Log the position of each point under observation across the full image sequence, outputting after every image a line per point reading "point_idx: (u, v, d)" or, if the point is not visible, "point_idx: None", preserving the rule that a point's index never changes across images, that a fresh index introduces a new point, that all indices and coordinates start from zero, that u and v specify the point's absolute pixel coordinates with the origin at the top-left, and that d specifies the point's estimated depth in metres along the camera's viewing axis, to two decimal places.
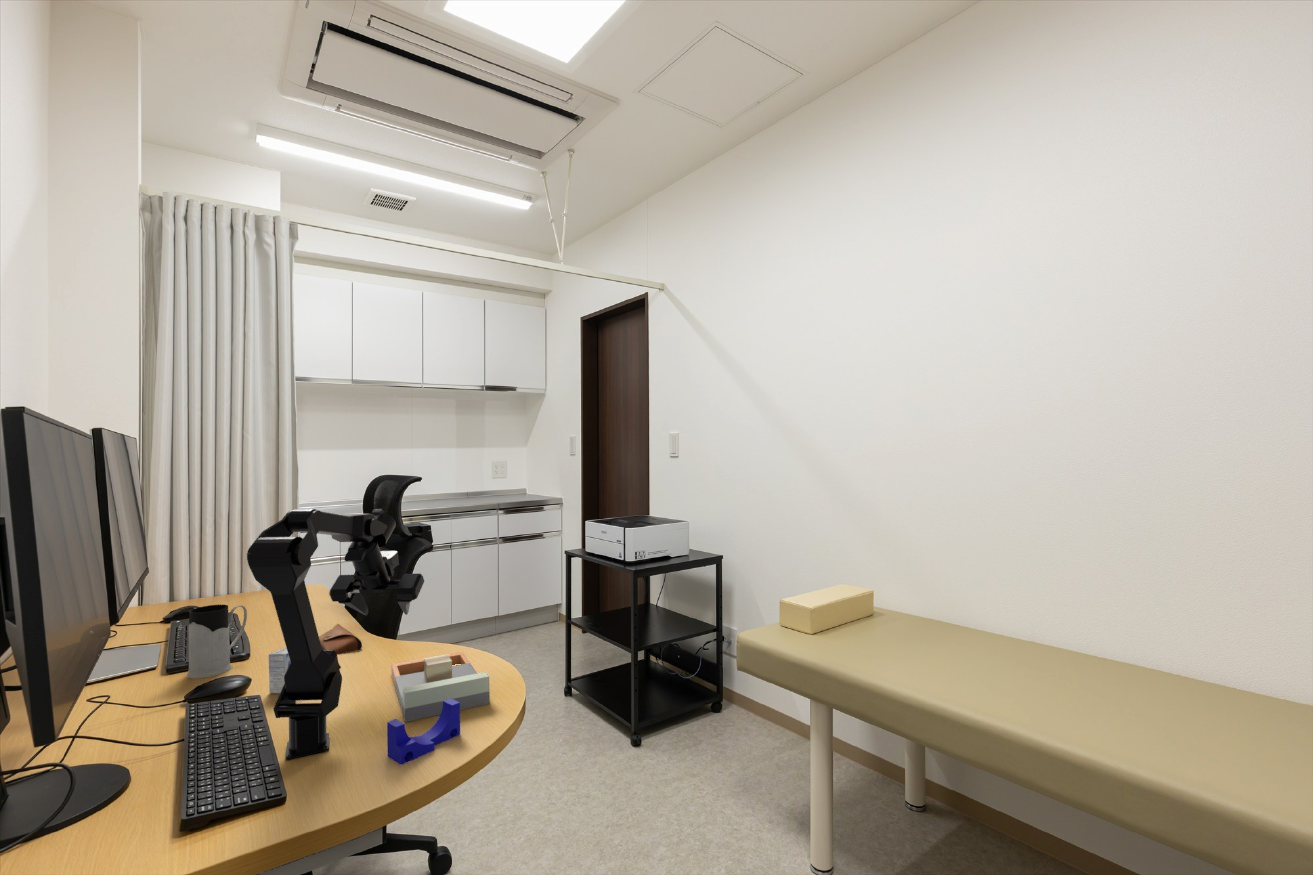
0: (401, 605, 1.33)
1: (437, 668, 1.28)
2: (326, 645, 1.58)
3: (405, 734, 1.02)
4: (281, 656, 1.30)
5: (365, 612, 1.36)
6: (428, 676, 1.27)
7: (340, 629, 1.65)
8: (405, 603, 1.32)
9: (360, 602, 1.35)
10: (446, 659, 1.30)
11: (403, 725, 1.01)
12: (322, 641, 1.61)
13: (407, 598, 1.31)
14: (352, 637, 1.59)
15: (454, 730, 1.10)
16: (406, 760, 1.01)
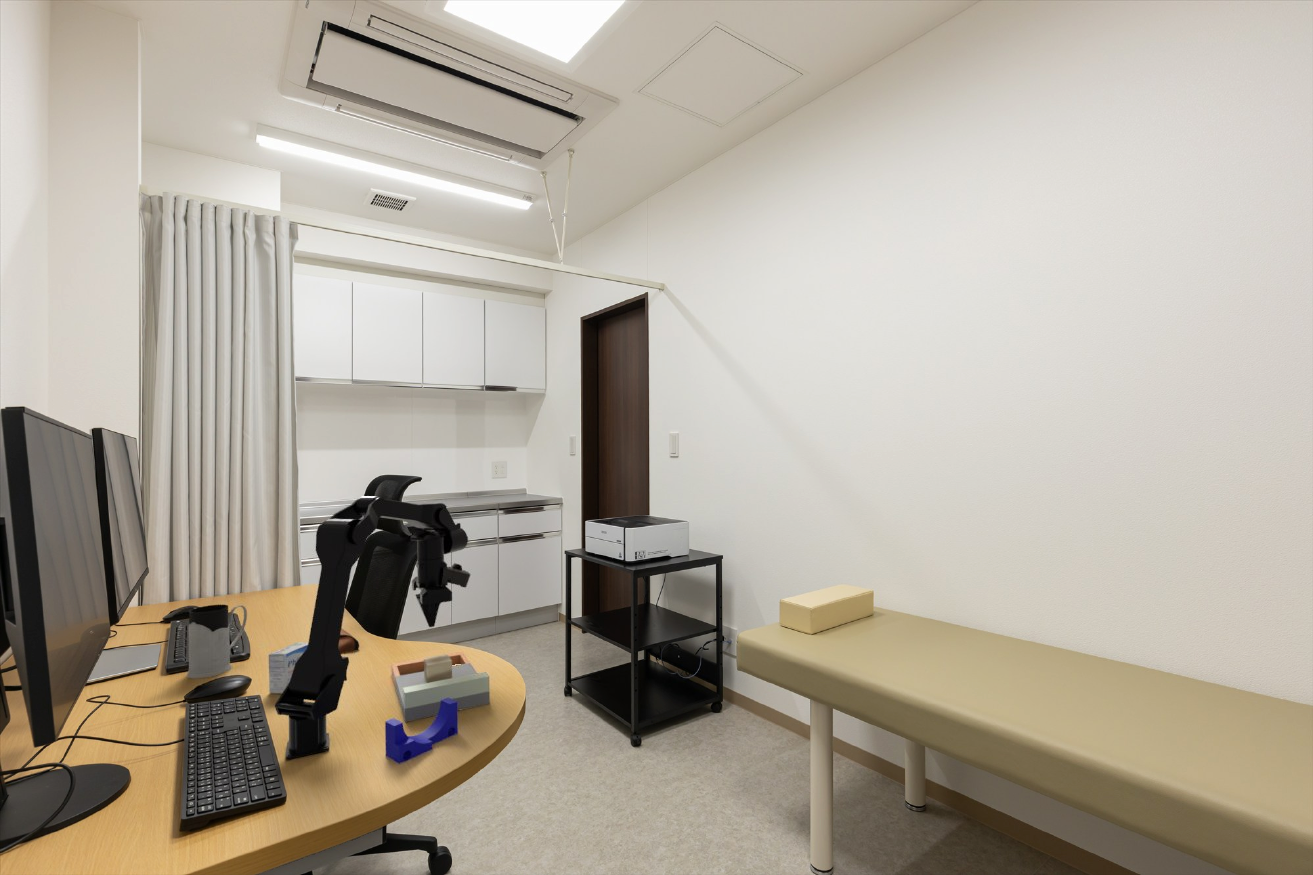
0: None
1: (437, 668, 1.28)
2: None
3: (403, 733, 1.02)
4: (281, 656, 1.30)
5: None
6: (428, 676, 1.27)
7: None
8: (419, 604, 1.35)
9: None
10: (446, 659, 1.30)
11: (401, 724, 1.02)
12: None
13: (421, 600, 1.30)
14: (349, 637, 1.58)
15: (452, 729, 1.10)
16: (404, 759, 1.01)
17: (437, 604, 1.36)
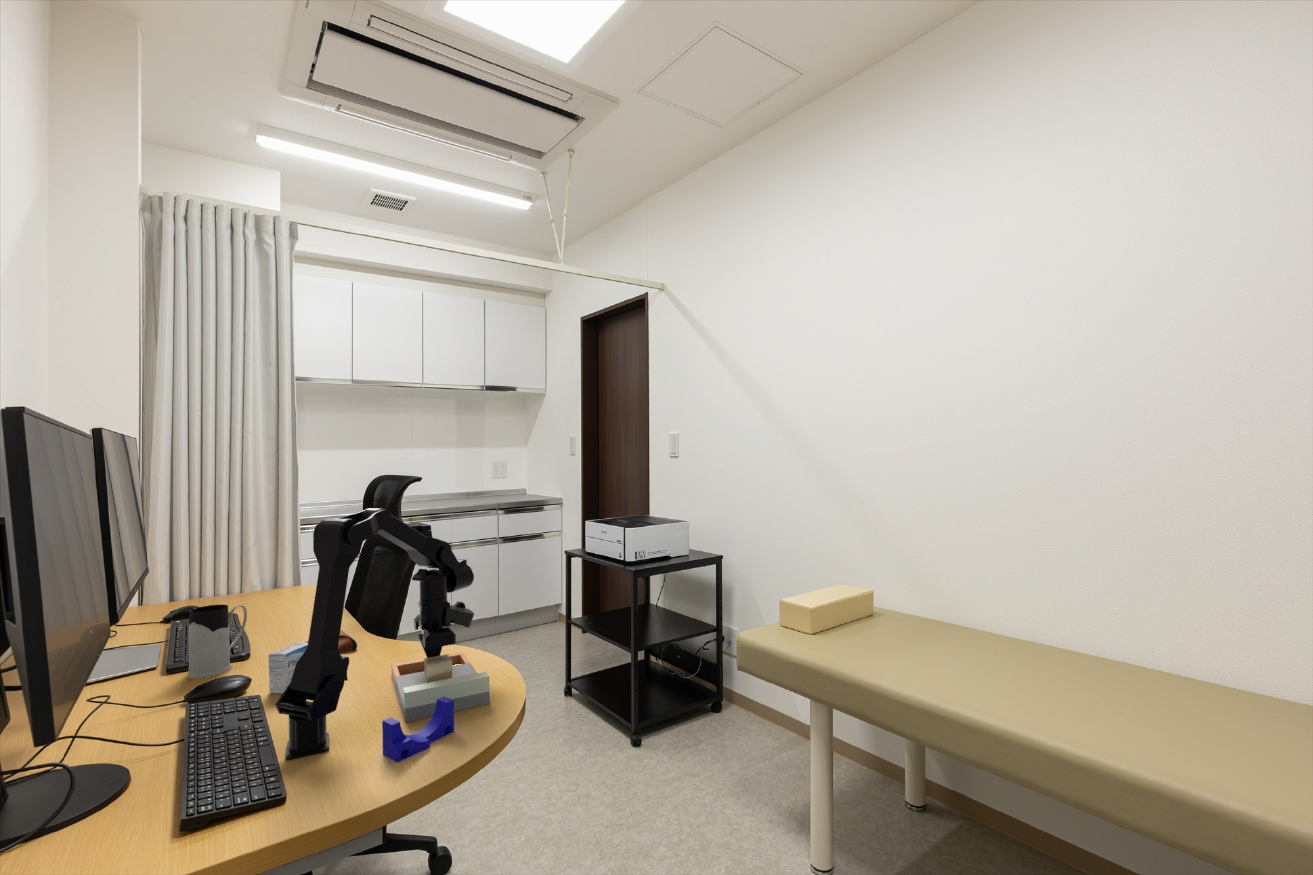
0: (423, 648, 1.32)
1: (437, 668, 1.28)
2: None
3: (401, 732, 1.03)
4: (281, 656, 1.30)
5: None
6: (428, 676, 1.27)
7: None
8: (422, 645, 1.31)
9: None
10: (446, 659, 1.30)
11: (398, 723, 1.02)
12: None
13: (424, 644, 1.26)
14: (347, 638, 1.58)
15: (448, 727, 1.11)
16: (402, 758, 1.01)
17: None
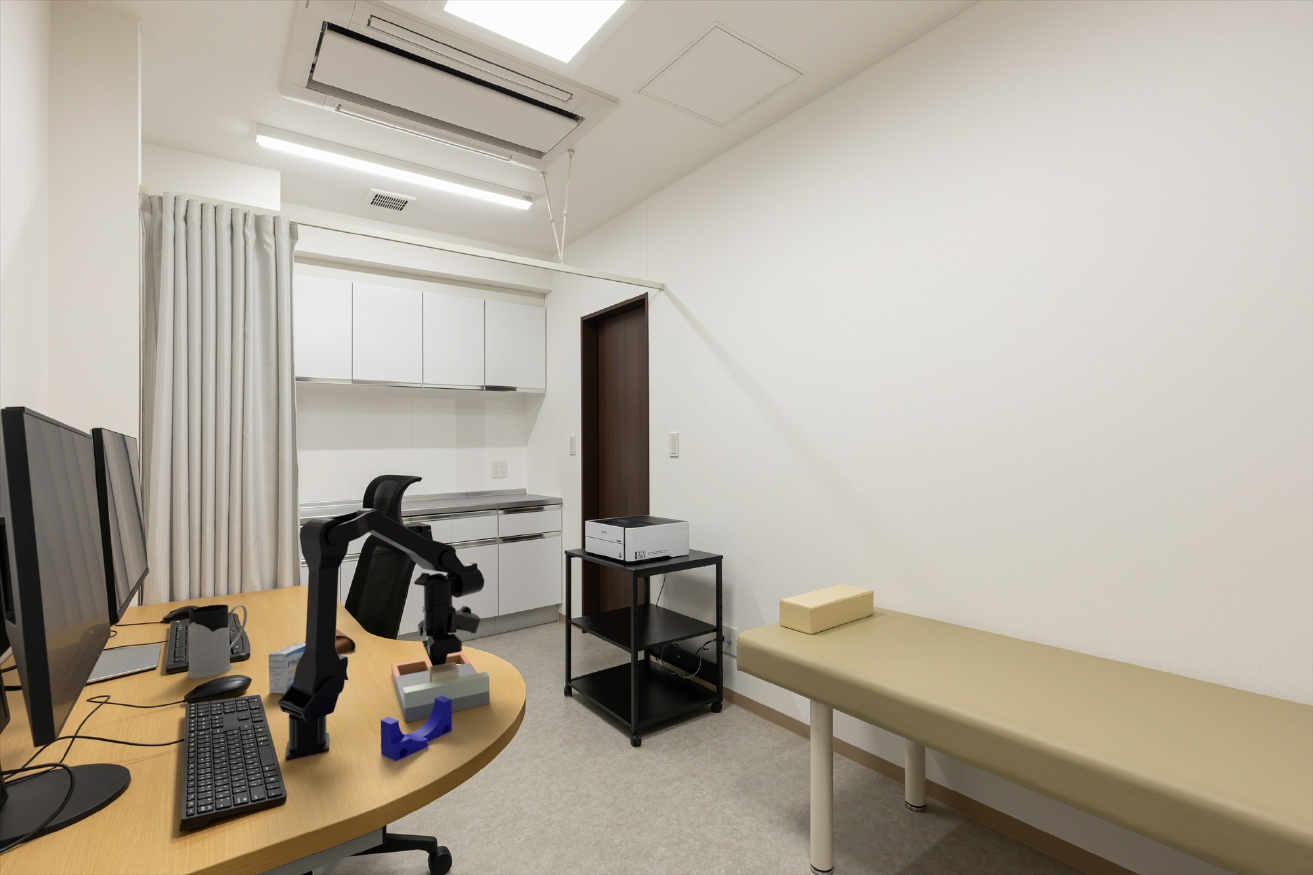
0: (428, 655, 1.27)
1: (443, 677, 1.23)
2: None
3: (399, 731, 1.03)
4: (281, 656, 1.30)
5: None
6: None
7: None
8: (427, 653, 1.26)
9: None
10: (453, 668, 1.25)
11: (397, 722, 1.03)
12: None
13: (428, 651, 1.21)
14: (345, 638, 1.58)
15: (446, 727, 1.11)
16: (400, 757, 1.02)
17: None
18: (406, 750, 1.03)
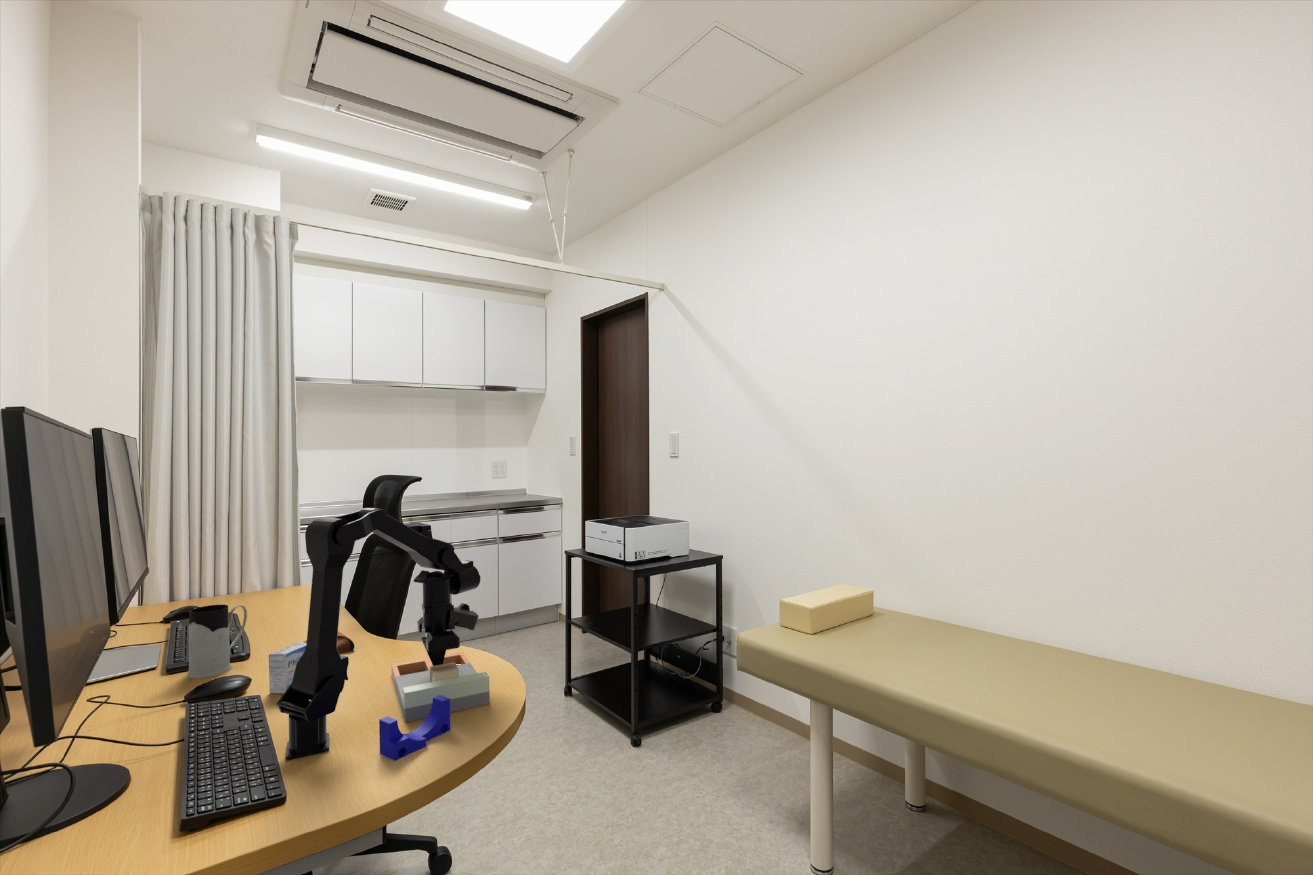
0: None
1: (443, 677, 1.23)
2: None
3: (398, 730, 1.03)
4: (281, 656, 1.30)
5: None
6: None
7: None
8: None
9: None
10: (453, 668, 1.25)
11: (396, 721, 1.03)
12: None
13: (427, 648, 1.23)
14: (344, 638, 1.58)
15: (444, 726, 1.12)
16: (399, 756, 1.02)
17: None
18: (405, 749, 1.03)
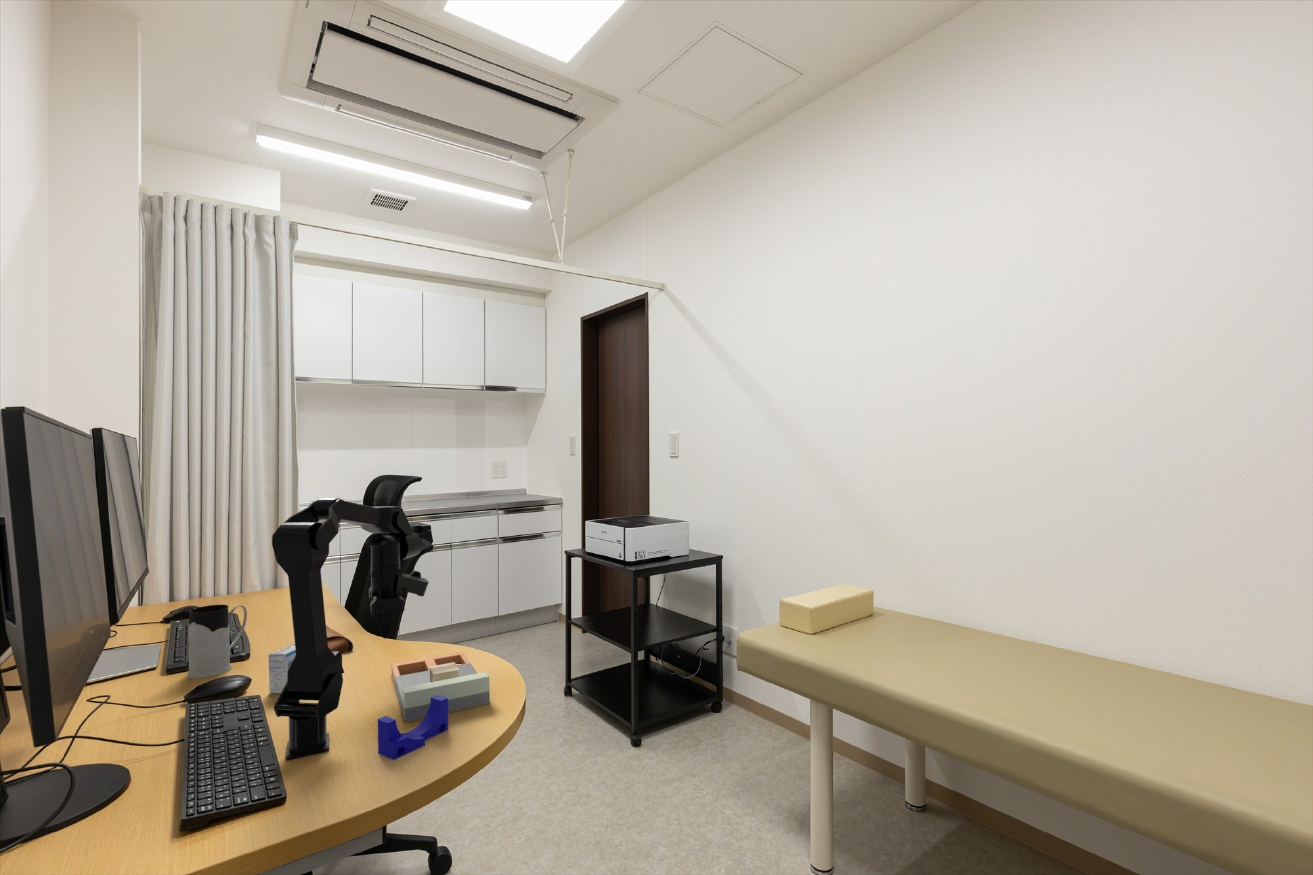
0: None
1: (443, 677, 1.23)
2: None
3: (396, 730, 1.03)
4: (281, 656, 1.30)
5: None
6: None
7: (329, 631, 1.63)
8: None
9: None
10: (453, 668, 1.25)
11: (394, 721, 1.03)
12: None
13: None
14: (343, 639, 1.58)
15: (442, 725, 1.12)
16: (398, 755, 1.02)
17: (391, 614, 1.28)
18: (403, 749, 1.03)
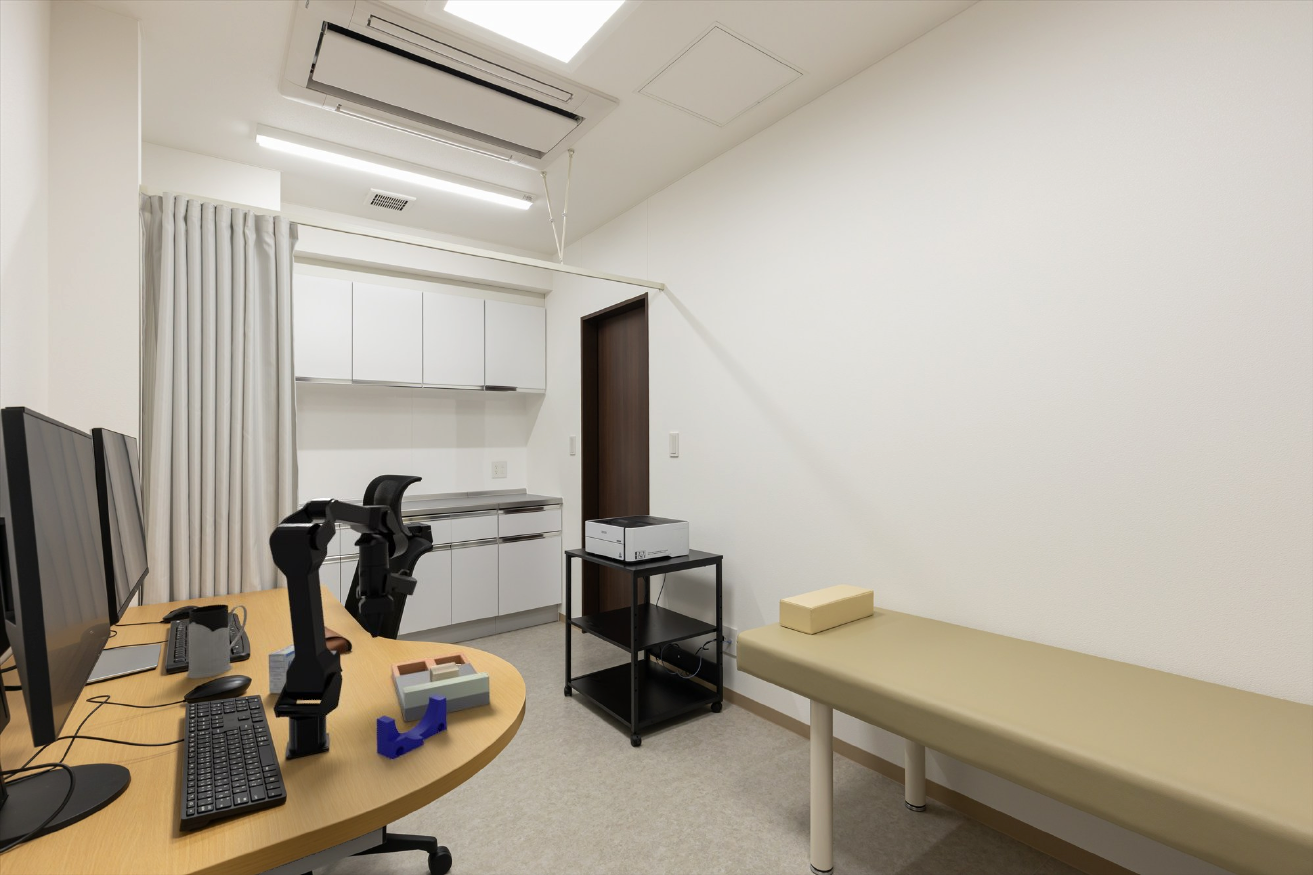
0: None
1: (443, 677, 1.23)
2: None
3: (395, 730, 1.03)
4: (281, 656, 1.30)
5: None
6: None
7: (328, 631, 1.63)
8: None
9: None
10: (453, 668, 1.25)
11: (393, 720, 1.03)
12: None
13: None
14: (342, 639, 1.57)
15: (440, 725, 1.12)
16: (397, 755, 1.02)
17: (380, 613, 1.28)
18: (402, 748, 1.03)
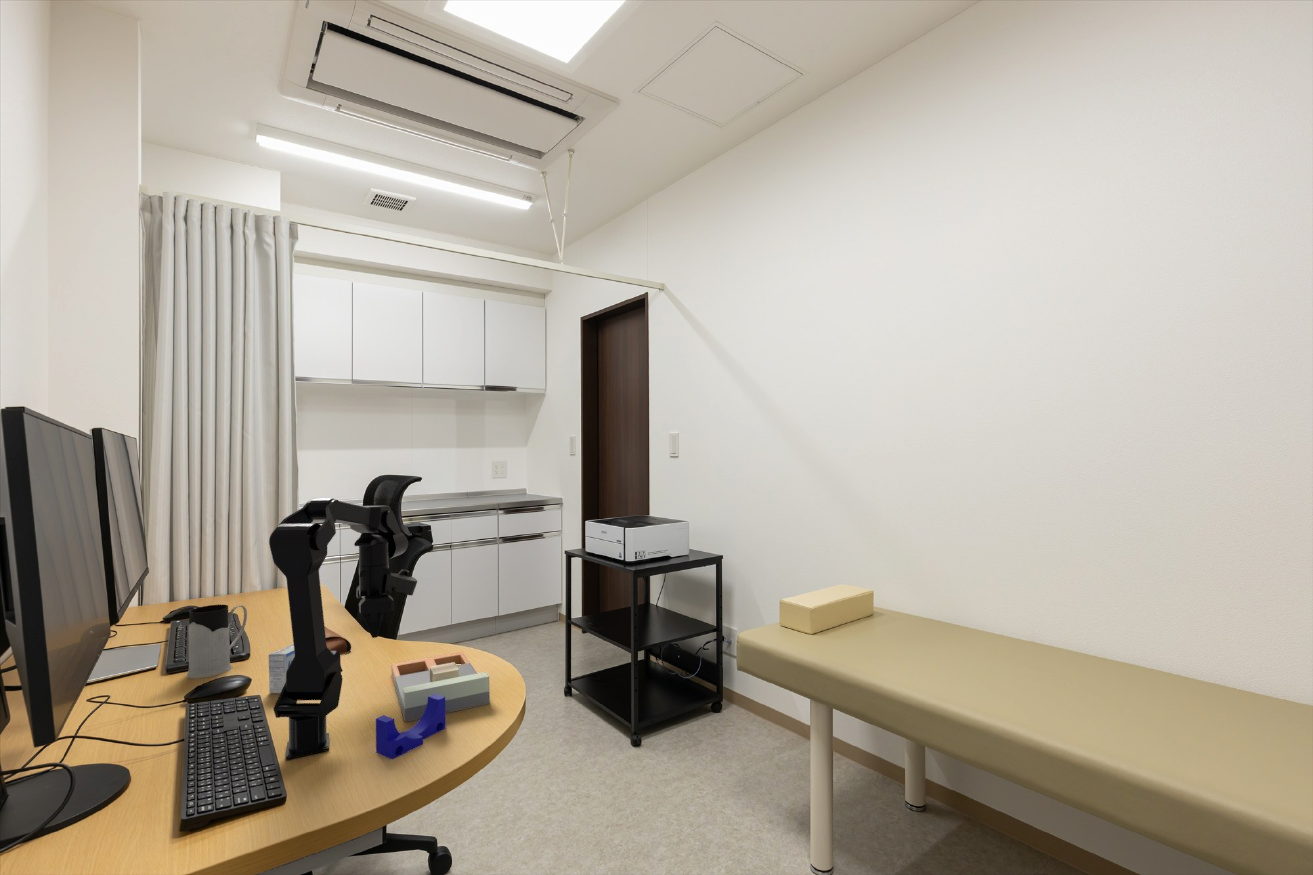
0: None
1: (443, 677, 1.23)
2: None
3: (395, 729, 1.04)
4: (281, 656, 1.30)
5: None
6: None
7: (327, 631, 1.63)
8: None
9: None
10: (453, 668, 1.25)
11: (392, 720, 1.03)
12: None
13: None
14: (341, 639, 1.57)
15: (439, 724, 1.12)
16: (396, 754, 1.03)
17: (380, 613, 1.28)
18: (402, 748, 1.03)
